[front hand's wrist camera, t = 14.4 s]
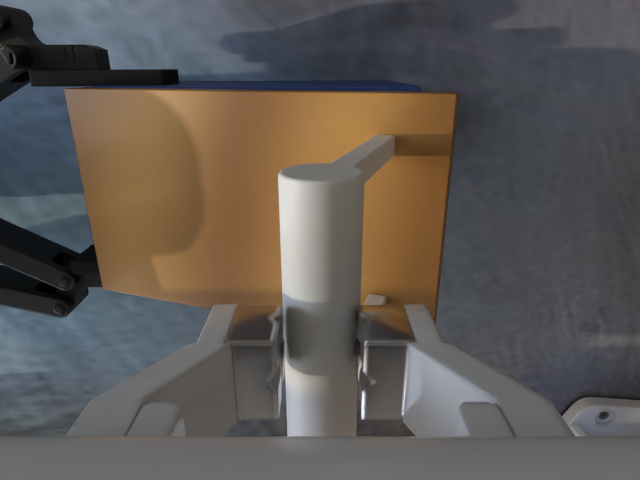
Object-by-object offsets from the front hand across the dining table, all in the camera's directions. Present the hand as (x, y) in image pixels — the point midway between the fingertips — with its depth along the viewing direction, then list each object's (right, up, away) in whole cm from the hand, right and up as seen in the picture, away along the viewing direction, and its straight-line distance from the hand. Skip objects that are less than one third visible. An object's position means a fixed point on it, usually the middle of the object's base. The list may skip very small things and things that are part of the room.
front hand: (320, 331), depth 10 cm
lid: (-3, +3, +9) cm, 10 cm away
